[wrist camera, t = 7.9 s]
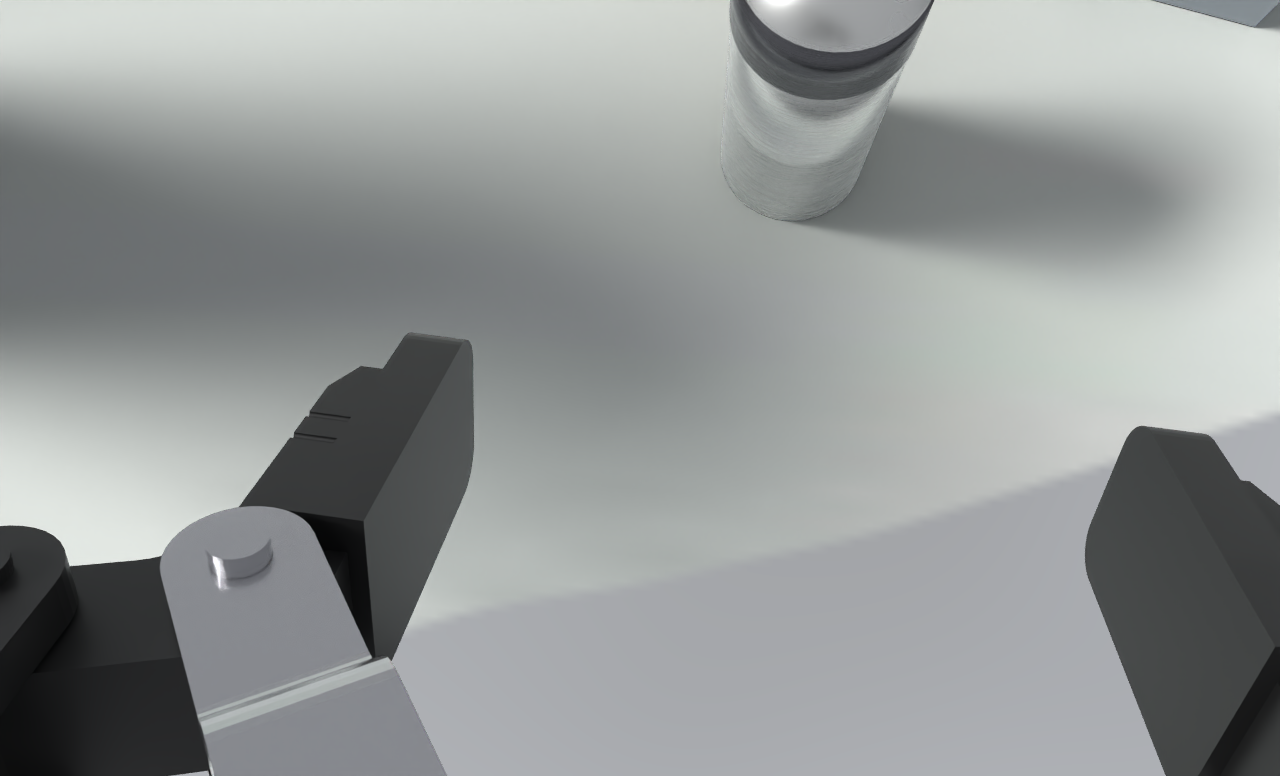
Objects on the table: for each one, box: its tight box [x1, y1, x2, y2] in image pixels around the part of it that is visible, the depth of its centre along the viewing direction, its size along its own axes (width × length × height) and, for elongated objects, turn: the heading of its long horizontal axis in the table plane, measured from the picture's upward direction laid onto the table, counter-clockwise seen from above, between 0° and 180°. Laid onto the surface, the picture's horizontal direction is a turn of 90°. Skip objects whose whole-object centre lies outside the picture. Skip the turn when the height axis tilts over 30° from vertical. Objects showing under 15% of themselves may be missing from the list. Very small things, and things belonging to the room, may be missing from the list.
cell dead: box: [721, 0, 934, 221], centre depth 26 cm, size 4×4×11 cm
